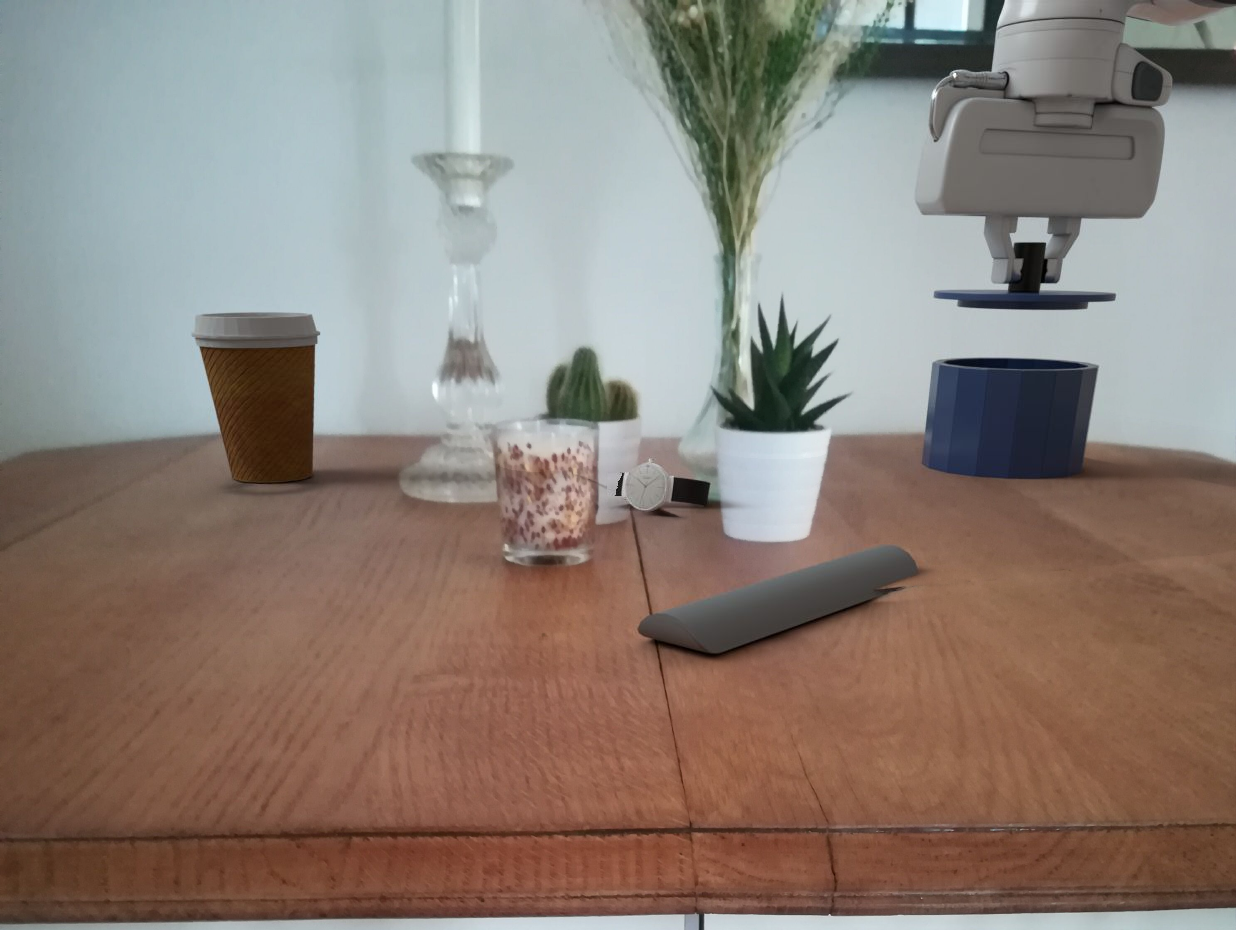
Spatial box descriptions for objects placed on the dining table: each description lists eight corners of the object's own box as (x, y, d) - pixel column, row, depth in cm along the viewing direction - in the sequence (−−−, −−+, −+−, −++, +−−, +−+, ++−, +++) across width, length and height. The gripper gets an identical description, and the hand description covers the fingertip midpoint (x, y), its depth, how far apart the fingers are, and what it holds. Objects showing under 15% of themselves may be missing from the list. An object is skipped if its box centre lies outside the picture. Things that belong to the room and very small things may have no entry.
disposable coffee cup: (184, 479, 96) (161, 315, 91) (274, 463, 104) (257, 310, 99) (270, 491, 92) (251, 319, 87) (358, 473, 99) (344, 314, 94)
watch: (593, 510, 86) (593, 456, 84) (623, 499, 89) (624, 448, 88) (693, 520, 82) (695, 465, 81) (721, 508, 86) (723, 455, 85)
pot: (1011, 457, 108) (1025, 355, 105) (1114, 480, 98) (1134, 367, 94) (892, 466, 104) (902, 359, 100) (986, 490, 93) (1002, 372, 90)
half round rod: (923, 583, 67) (926, 550, 66) (701, 662, 54) (703, 623, 53) (856, 570, 69) (858, 539, 69) (629, 643, 56) (630, 605, 55)
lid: (1032, 303, 103) (1041, 243, 102) (1153, 310, 92) (1165, 242, 90) (898, 304, 99) (904, 241, 97) (1008, 311, 87) (1017, 240, 85)
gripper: (963, 61, 83) (939, 284, 88) (1191, 79, 90) (1154, 284, 96) (908, 73, 88) (889, 282, 94) (1128, 88, 95) (1097, 282, 101)
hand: (1025, 283), depth 95 cm, fingers closed on lid, 2 cm apart
